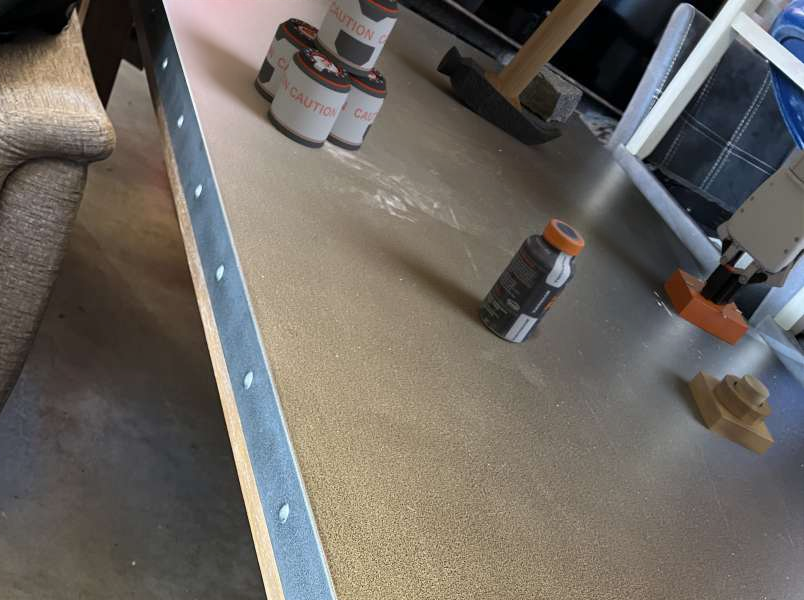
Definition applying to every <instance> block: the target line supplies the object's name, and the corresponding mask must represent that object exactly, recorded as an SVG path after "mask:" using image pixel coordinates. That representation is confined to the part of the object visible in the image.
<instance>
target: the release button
mask: <svg viewBox="0 0 804 600" xmlns="http://www.w3.org/2000/svg"><path fill="white" fill-rule="evenodd" d="M734 387H735V389H736V390H737V391H738V392H739V393H740V395H741V396H742V397H743V398H745V399H746V400H747V401H749V402H750V403H751V404H753V405H755V406H757V407H759V406H760V405H761V404H762V402H763V401H764V400H765V399H766V400H767V399H768V398H769V397H770V391H769V389H768V388H767V387H766V385H764V384H763V383H762V381H760V380H759V379H757V378H756V377H754V376H753V375H750V374H749V373H747V374H744V375H743V376H742V377H741V379H740V380H739V381H738V383H737V384H736V385H735V386H734Z"/></svg>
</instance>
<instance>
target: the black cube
mask: <svg viewBox="0 0 804 600" xmlns="http://www.w3.org/2000/svg"><path fill="white" fill-rule="evenodd" d="M745 270H746V269H744V268H743V267H736V266H734V267H731V266H730V265H727V264H726V265H724V266H723V267H722V268H721V269H720V270H719V271H718V272H717V274H716V275H715V276H714V277H713V278H712V279H711V281H710V282H709V283H708V284H707V285H706V286H705V288H704V289H703V290H702V291H701V292H700V293H701V294H702V295H703V296H704V297H705V298H706V299H707V300H710V301H714V300H715V298H716V297H717V296H718V295H719V294H720V293H721V292H722V290H723V289H724V288H725V287H726V286H727V285H728V283H729V282H730V281H731V280H732V279H733V278H738V277H739V276H740V275H741V274H742V273H743V272H744V271H745Z"/></svg>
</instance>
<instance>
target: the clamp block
mask: <svg viewBox="0 0 804 600" xmlns="http://www.w3.org/2000/svg"><path fill="white" fill-rule="evenodd" d="M706 280H707V279H705V278H704V277H703V278H702V280H700V279H698V278H696V277H695V276H693V275H692V274H690V273H687V272H686V271H684V270H682V269H681V268H679V267H678V268H677V269H676V270H675V271H674V273H673V274H672V275H671V276H670V278H669V279H668V280H667V281H666V282H665V284H664V285H663V287H664V290H665V292H666V293H667V295H668V297H669V300H670V302H671V304H672V306H673V308H674V310H675V312H676V314H677V316H678V317H679V318H681V319H683V320H685V321H687V322H689V323H691V324H693V325H695V326H697V327H698V328H699V329H702V330H704V331H706V332H708V333H709V334H711V335H713V336H714V337H716V338H719V339H720V340H722V341H724V342H726V343H728V344H729V345H731V346H735V345H736V343H738V341H739V340H741V338H742V337H743V336H744V334H746V332H747V331H749V330H750V328H749V326H748V324H747V322H746V321H745V319H744V317H743V316H742V314H743V312H742V311H740V310H739V308H738V306H737V304H736V303H735V302H734V301H735V300H734V301H733V302H732V303H731V304H727V305H725V306H722V305H716V304H715V303H714V301H710V300H707V299H706V298H705V297H704V296H703V295H702V294H701V293H700V292H701V291H702V288H703V287H704V286H705V285H706V284H707V283H706Z"/></svg>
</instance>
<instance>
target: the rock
mask: <svg viewBox="0 0 804 600" xmlns="http://www.w3.org/2000/svg"><path fill="white" fill-rule="evenodd" d="M583 94H584V92H583V91H582V90H581V89H579V88H578V87H577V86H576V85H574V84H572V83H570V82H568V81H567V80H566V79H564V78H563V77H561V75H560V74H556V73H554V72H553V71H552V70H551V69H550V68H548V67H547V66H544V67H543V68H542V69H541V70H540V71H539V73H538V74H537V75H536V76H535V77H534V78H533V79H532V81H531V82H530V83H529V84H528V85H527V86H526V88H525V89H524V90H523V91H522V92H521V93H520V95H519V101H520V104H521V105H524V106H525V107H527V108H528V109H530V110H531V111H532V113H534V114H537V115H538V116H540V117H541V119H542V120H543V121H544V122H546V123H550V122H551V121H552V120H553V121H554V122H556V121H557V122H558V123H563V124H566V123H567V120H568V119H569V118H570V116H571V115H572V114H573V112H574V110H575V109H576V108H577V106H578V103H580V101H581V99H582V96H583Z"/></svg>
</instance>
